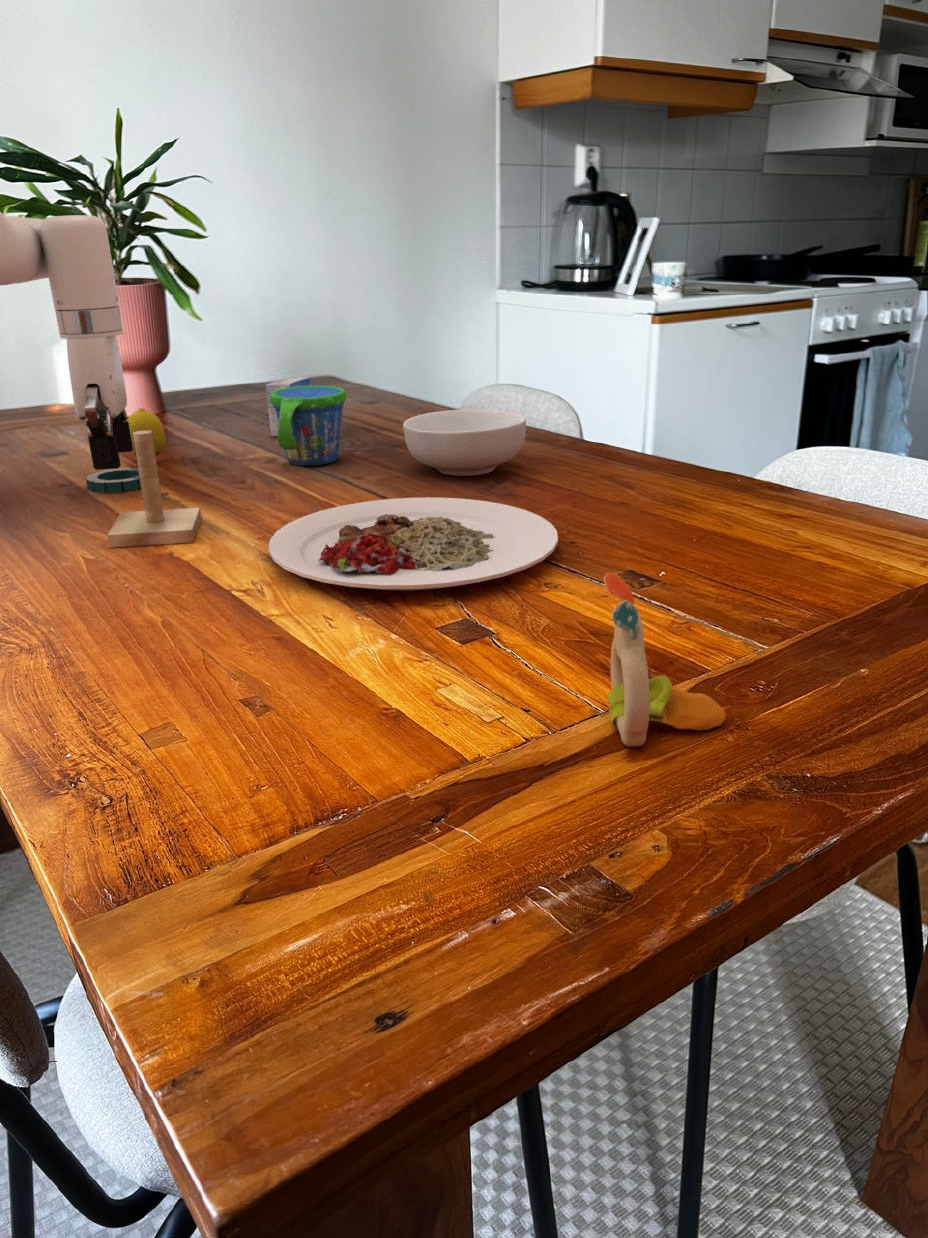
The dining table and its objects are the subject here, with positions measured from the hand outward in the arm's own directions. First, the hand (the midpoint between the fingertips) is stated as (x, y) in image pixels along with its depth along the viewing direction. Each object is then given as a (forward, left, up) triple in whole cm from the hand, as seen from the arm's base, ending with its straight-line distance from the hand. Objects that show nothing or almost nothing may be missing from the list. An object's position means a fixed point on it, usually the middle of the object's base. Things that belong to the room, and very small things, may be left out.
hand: (114, 459), depth 126 cm
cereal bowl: (+47, +1, -4) cm, 47 cm away
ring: (0, +3, -4) cm, 5 cm away
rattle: (+48, -76, -4) cm, 89 cm away
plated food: (+36, -34, -4) cm, 49 cm away
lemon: (+2, +16, -4) cm, 17 cm away
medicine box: (+23, +33, -4) cm, 41 cm away
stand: (+8, -21, -4) cm, 22 cm away
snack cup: (+26, +11, -4) cm, 28 cm away
